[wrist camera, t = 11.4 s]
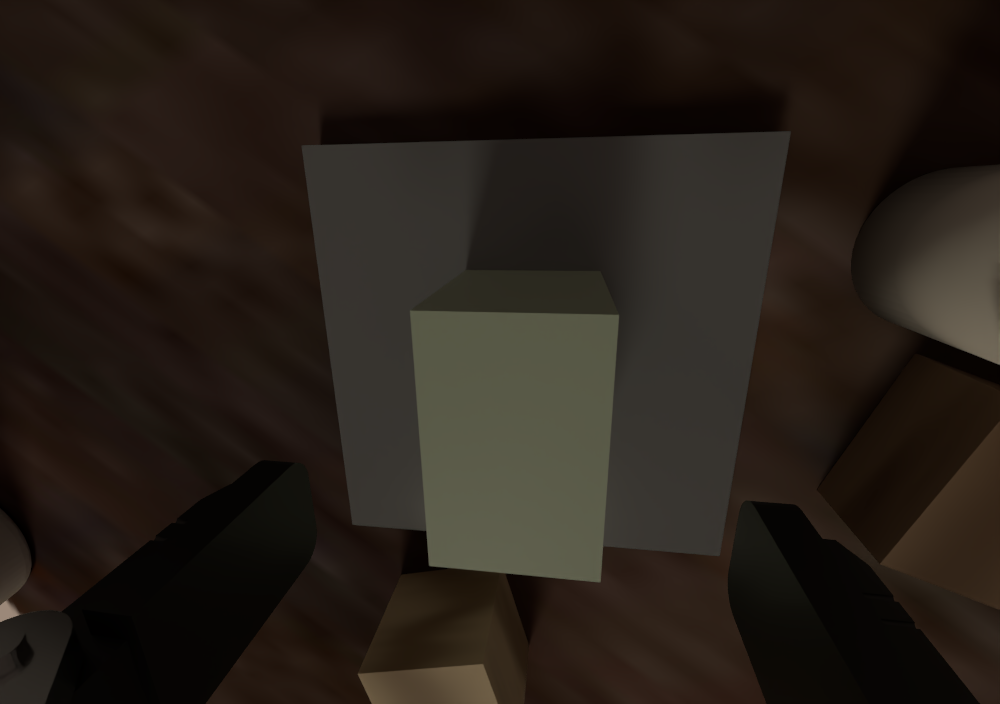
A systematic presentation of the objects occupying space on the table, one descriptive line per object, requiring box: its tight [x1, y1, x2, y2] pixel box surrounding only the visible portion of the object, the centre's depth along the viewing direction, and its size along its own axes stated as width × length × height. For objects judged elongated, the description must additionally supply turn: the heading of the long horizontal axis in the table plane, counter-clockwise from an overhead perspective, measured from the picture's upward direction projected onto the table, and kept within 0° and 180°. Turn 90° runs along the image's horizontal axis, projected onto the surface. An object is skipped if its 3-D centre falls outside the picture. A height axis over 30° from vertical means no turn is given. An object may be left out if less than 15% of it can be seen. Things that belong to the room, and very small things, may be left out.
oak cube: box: [358, 568, 529, 704], centre depth 20 cm, size 5×5×5 cm
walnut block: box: [817, 353, 1000, 610], centre depth 15 cm, size 4×6×4 cm, turn 160°
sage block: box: [410, 270, 619, 582], centre depth 14 cm, size 4×7×6 cm, turn 1°
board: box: [302, 131, 791, 556], centre depth 17 cm, size 15×15×1 cm
